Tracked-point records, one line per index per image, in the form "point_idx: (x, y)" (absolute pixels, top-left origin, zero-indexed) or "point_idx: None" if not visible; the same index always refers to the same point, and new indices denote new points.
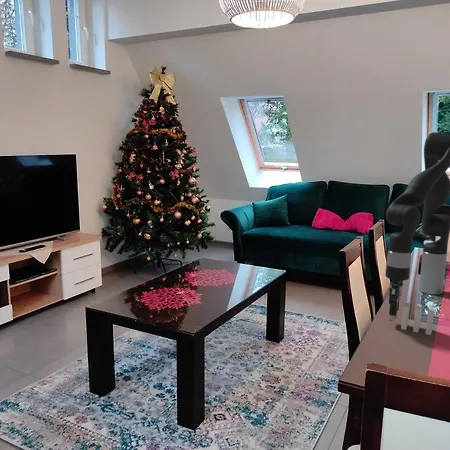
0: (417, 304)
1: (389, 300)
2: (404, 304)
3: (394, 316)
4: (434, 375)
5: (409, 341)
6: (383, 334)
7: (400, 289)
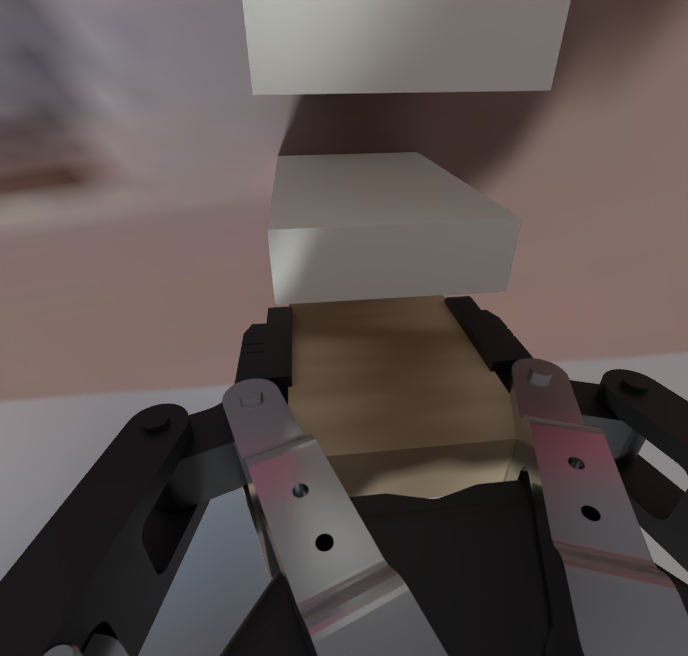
0: (275, 77)
1: (656, 482)
2: (405, 288)
3: (440, 300)
4: None
5: (672, 83)
6: (571, 288)
7: (664, 590)
